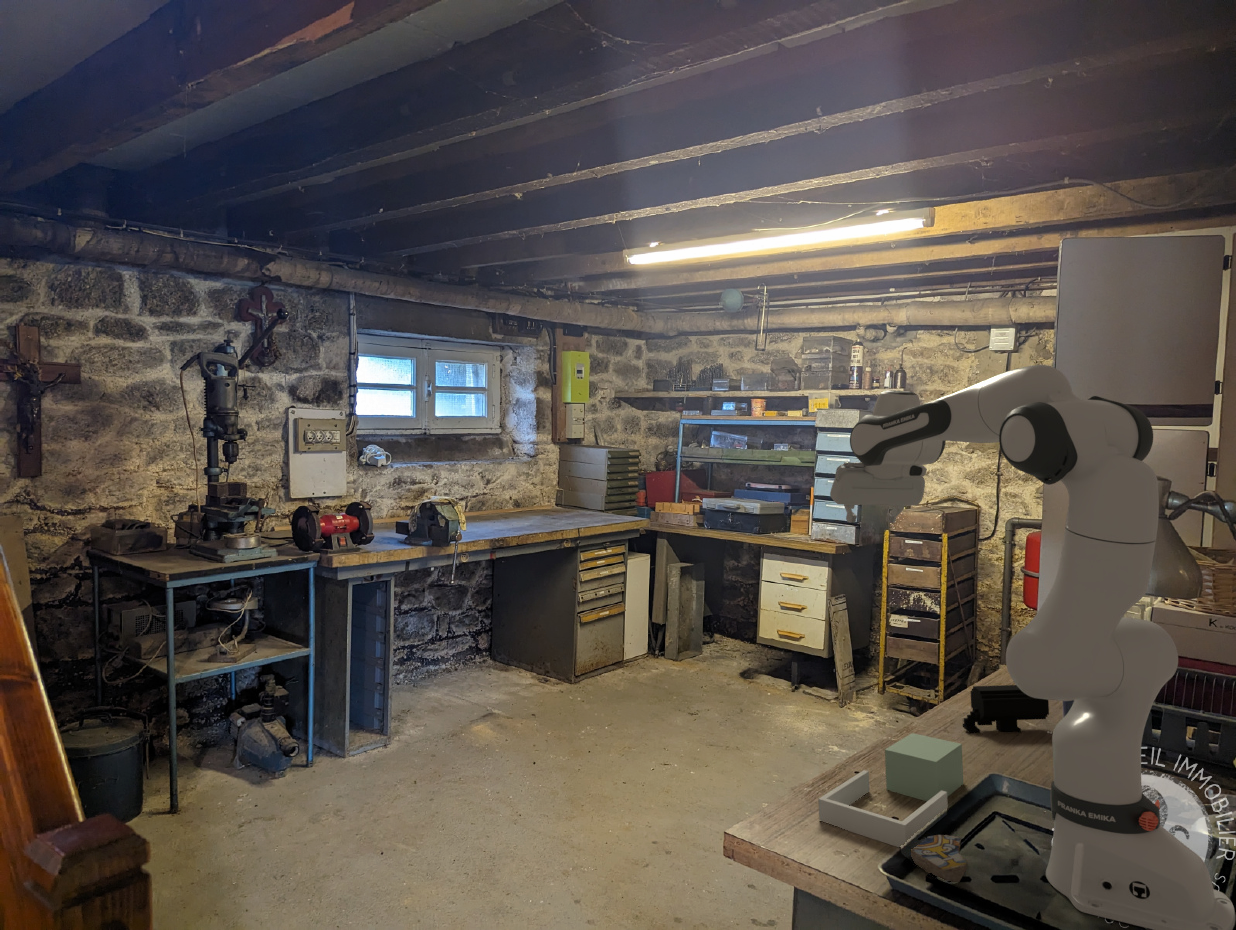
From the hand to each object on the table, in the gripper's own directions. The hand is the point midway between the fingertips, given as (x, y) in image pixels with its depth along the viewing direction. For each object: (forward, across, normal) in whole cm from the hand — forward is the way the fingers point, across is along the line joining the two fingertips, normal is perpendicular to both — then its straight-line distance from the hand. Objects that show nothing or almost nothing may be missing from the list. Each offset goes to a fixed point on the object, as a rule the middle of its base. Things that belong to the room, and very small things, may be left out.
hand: (870, 521), depth 169 cm
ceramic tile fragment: (+31, -14, -62) cm, 71 cm away
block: (+40, +2, -36) cm, 54 cm away
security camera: (+47, +37, -14) cm, 61 cm away
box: (+37, -12, -46) cm, 60 cm away
